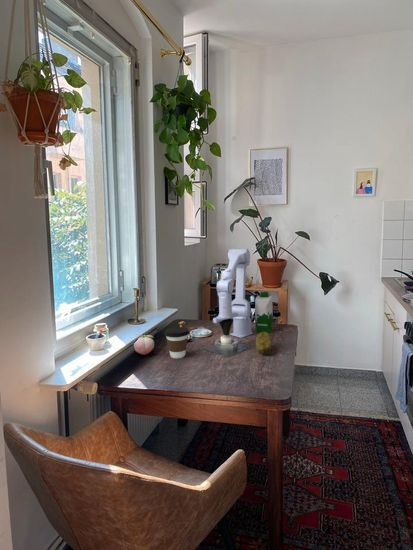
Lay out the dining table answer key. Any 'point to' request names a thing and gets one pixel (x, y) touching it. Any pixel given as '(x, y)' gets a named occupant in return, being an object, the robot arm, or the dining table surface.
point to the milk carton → (263, 312)
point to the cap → (226, 339)
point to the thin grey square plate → (226, 348)
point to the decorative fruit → (144, 344)
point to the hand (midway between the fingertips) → (226, 334)
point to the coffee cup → (177, 341)
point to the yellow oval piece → (263, 343)
